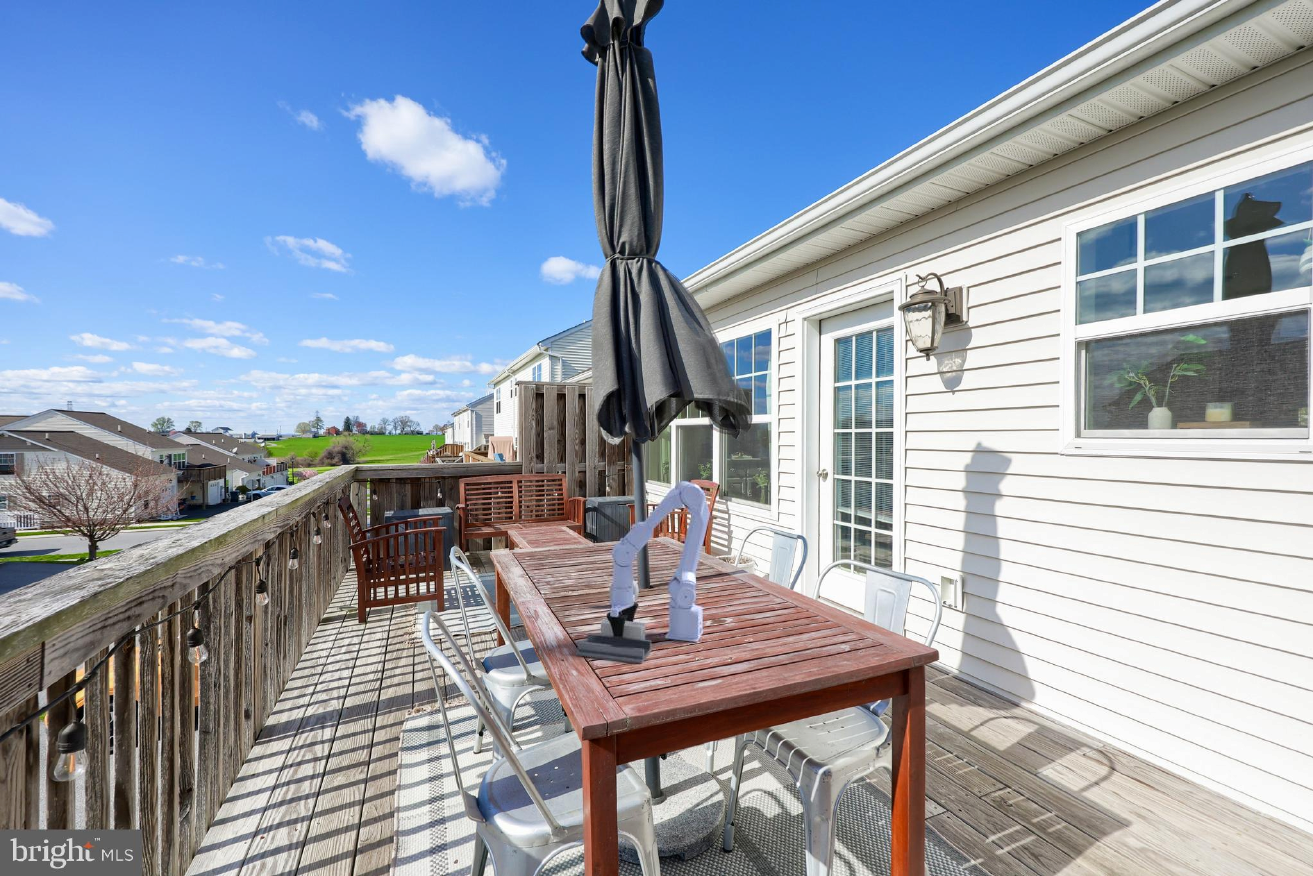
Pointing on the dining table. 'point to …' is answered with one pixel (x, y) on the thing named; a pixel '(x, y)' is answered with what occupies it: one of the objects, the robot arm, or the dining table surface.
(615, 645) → the grey u-channel tray
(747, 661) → the dining table surface
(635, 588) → the donut
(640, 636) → the grey metal bar
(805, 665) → the dining table surface
